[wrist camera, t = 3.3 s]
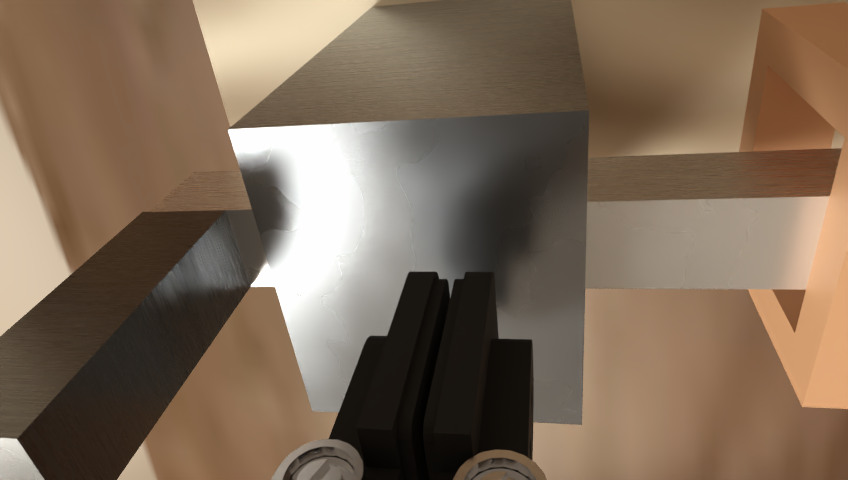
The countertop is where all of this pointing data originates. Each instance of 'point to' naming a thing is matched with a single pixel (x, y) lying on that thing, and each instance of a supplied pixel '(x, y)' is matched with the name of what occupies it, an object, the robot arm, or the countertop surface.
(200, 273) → the l-shaped metal bar
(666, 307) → the countertop surface
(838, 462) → the countertop surface
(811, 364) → the collar
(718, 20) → the board
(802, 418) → the countertop surface
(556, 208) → the metal block
